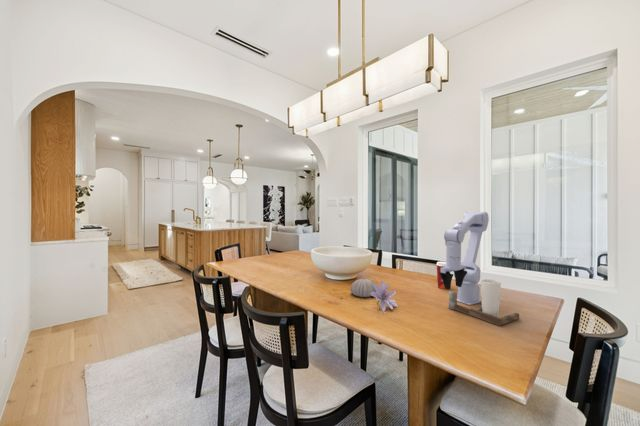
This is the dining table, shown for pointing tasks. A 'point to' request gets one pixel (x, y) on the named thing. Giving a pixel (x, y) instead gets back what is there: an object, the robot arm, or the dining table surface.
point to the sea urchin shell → (362, 288)
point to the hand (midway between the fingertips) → (453, 287)
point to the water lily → (384, 296)
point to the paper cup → (439, 278)
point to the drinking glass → (490, 296)
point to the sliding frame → (479, 312)
